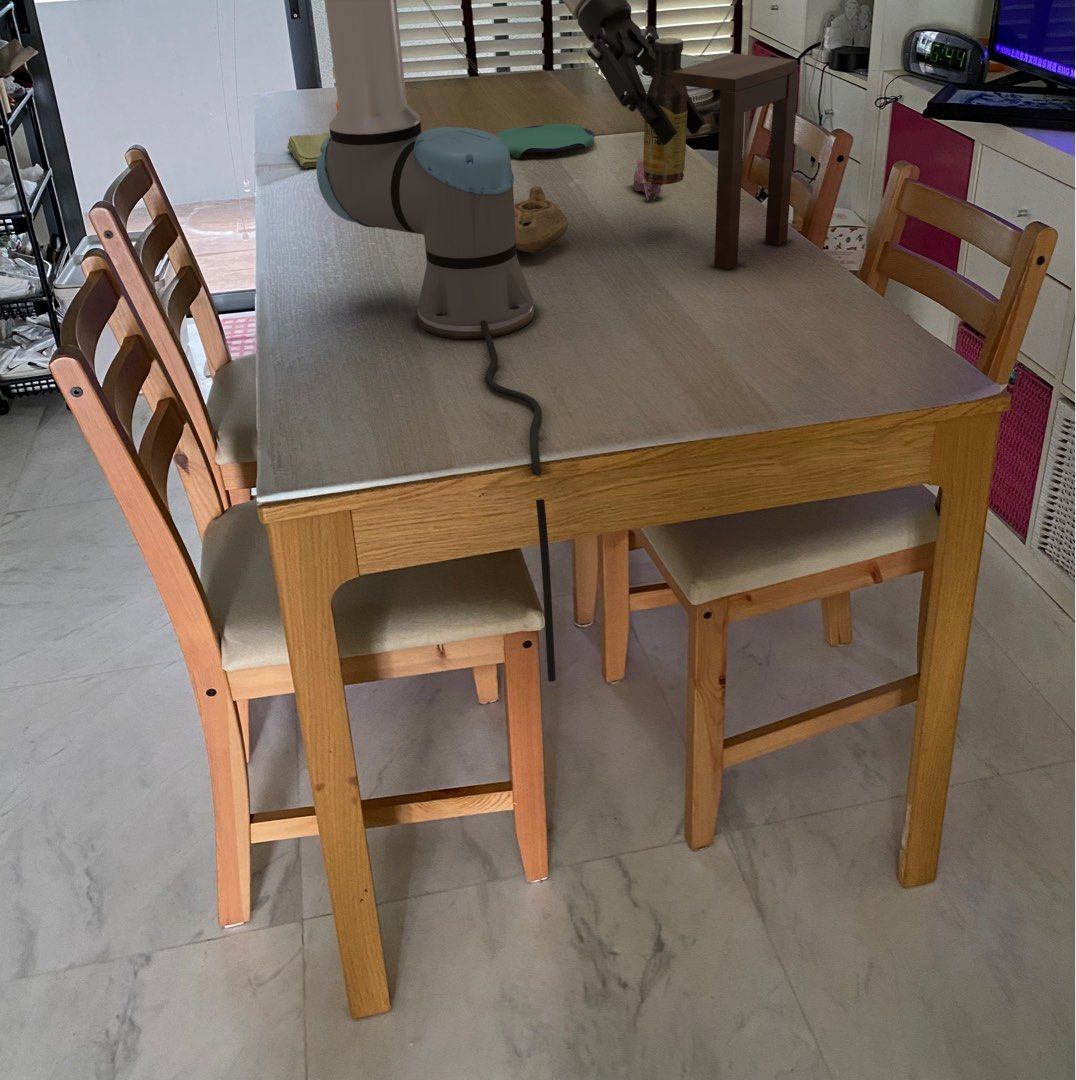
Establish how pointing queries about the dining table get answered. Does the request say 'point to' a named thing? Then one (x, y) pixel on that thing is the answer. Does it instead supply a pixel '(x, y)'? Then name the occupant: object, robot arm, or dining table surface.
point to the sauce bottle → (670, 158)
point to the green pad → (545, 138)
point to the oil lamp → (538, 222)
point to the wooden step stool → (742, 90)
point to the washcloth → (307, 148)
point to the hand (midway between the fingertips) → (684, 133)
